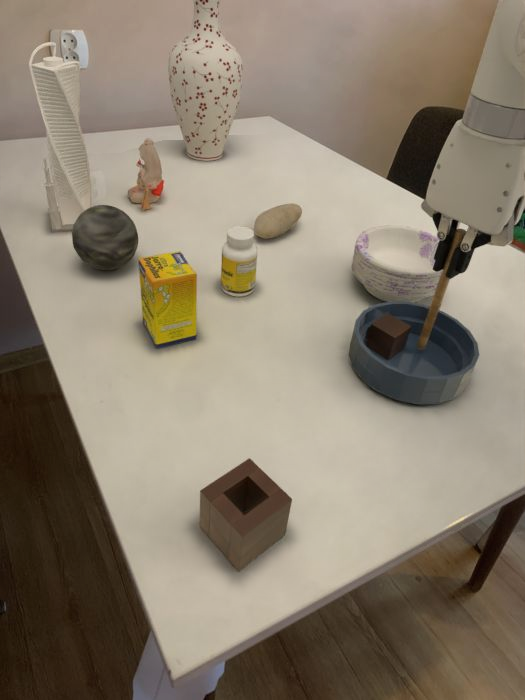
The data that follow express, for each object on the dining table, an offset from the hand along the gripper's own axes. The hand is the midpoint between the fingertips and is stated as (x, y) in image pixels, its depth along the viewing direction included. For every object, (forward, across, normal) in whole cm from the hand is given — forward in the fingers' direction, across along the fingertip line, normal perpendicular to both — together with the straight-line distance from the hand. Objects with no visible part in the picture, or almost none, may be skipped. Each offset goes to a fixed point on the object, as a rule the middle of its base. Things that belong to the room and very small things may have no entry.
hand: (447, 270), depth 67 cm
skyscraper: (+14, +62, +20) cm, 66 cm away
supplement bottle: (+14, +28, +10) cm, 33 cm away
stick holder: (+14, -5, +37) cm, 40 cm away
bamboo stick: (+13, 0, 0) cm, 13 cm away
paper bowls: (+14, +13, -11) cm, 22 cm away
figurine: (+14, +62, +5) cm, 64 cm away
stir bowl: (+14, 0, +3) cm, 14 cm away
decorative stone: (+14, +45, +23) cm, 52 cm away
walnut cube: (+14, +4, +3) cm, 14 cm away
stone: (+14, +38, -8) cm, 41 cm away
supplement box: (+14, +25, +25) cm, 38 cm away
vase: (+14, +76, -20) cm, 80 cm away
